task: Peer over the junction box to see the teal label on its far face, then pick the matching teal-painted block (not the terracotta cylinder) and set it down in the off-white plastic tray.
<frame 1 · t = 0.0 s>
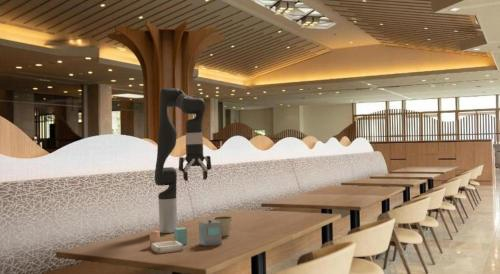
hand: (195, 180, 226), 29 cm above the table, fingers open, 8 cm apart
junction box: (210, 244, 230), on the table
terracotta cylinder: (155, 246, 229), on the table
teal block: (180, 243, 234), on the table
flower pot: (223, 235, 251), on the table
tray: (167, 249, 222), on the table
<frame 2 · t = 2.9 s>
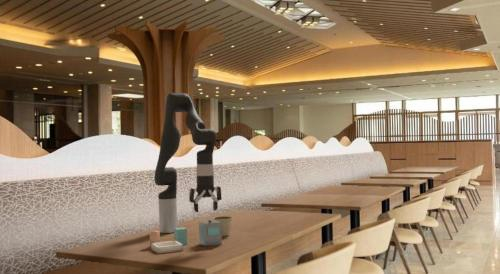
hand: (205, 211, 227), 15 cm above the table, fingers open, 8 cm apart
nothing on the table moved.
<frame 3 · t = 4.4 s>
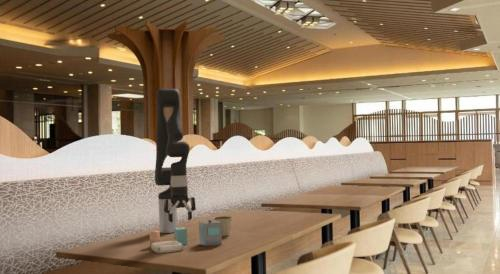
hand: (180, 221, 234), 10 cm above the table, fingers open, 8 cm apart
nothing on the table moved.
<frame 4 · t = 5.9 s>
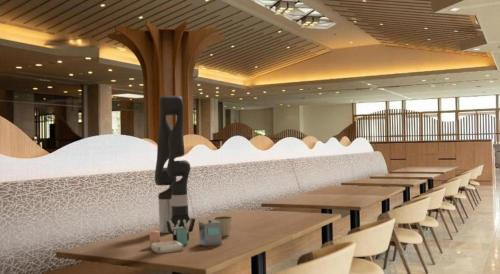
hand: (180, 241, 234), 1 cm above the table, fingers closed on teal block, 4 cm apart
teal block: (181, 243, 234), on the table, touching gripper
everything else where it was.
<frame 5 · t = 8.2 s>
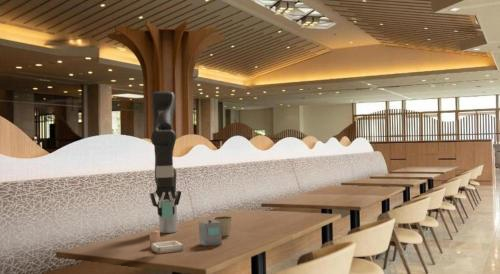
hand: (166, 215, 222), 15 cm above the table, fingers closed on teal block, 4 cm apart
teal block: (166, 217, 222), point 14 cm above the table, touching gripper
everything else where it was.
when the fingers open (3 cm above the table, at t = 10.6 s): teal block drops 1 cm, resting on tray.
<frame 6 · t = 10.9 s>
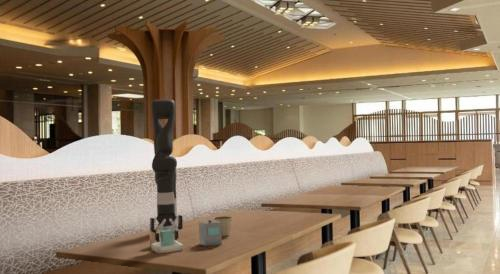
hand: (166, 240, 222), 4 cm above the table, fingers open, 7 cm apart
teal block: (167, 247, 222), point 1 cm above the table, touching tray
everything else where it was.
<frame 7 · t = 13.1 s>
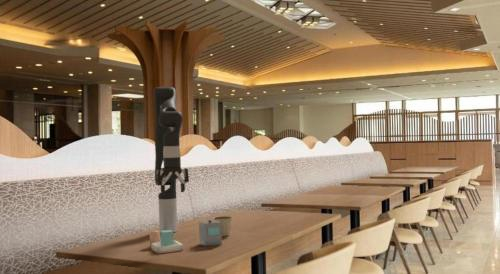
hand: (172, 192, 228), 24 cm above the table, fingers open, 8 cm apart
nothing on the table moved.
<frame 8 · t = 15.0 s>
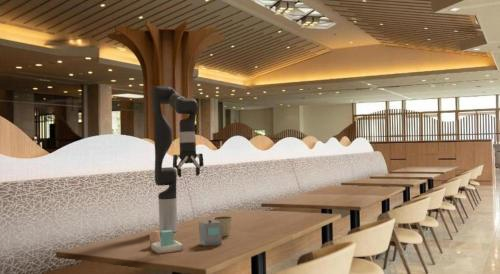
hand: (188, 176, 240), 30 cm above the table, fingers open, 8 cm apart
nothing on the table moved.
at the end: teal block inside the target area on the tray (0.0 cm from its centre), point 1.0 cm above the tray's base; teal block tilted 0°; terracotta cylinder moved 0.0 cm from its start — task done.
